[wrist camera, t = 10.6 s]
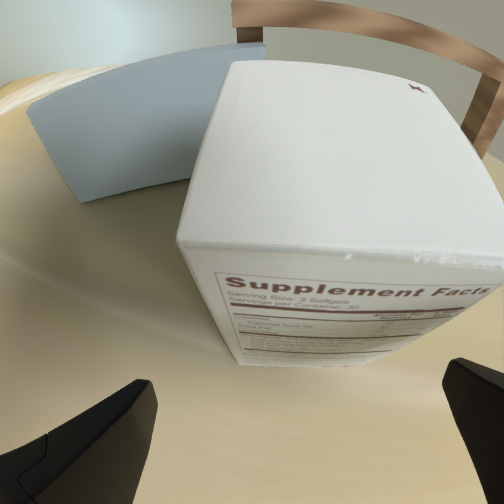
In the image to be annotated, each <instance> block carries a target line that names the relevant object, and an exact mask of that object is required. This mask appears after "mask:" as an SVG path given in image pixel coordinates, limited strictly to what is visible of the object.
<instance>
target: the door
mask: <svg viewBox="0 0 504 504" xmlns="http://www.w3.org/2000/svg"><path fill="white" fill-rule="evenodd" d="M247 60H266V47H265V45H264V44H263V43H262V42H251V43H238V44H229V45H220V46H213V47H206V48H199V49H193V50H188V51H182V52H177V53H172V54H168V55H163V56H159V57H155V58H151V59H147V60H143V61H139V62H136V63H132V64H129V65H125V66H122V67H119V68H116V69H113V70H110V71H107V72H104V73H101V74H98V75H95V76H93V77H90V78H87V79H85V80H82V81H80V82H77V83H75V84H72V85H70V86H68V87H65V88H63V89H61V90H58V91H56V92H54V93H52V94H50V95H48V96H46V97H44V98H42V99H40V100H38V101H36V102H34V103H32V104H31V106H30V107H29V108H28V109H27V111H26V113H27V115H28V117H29V119H30V121H31V123H32V125H33V127H34V129H35V130H36V132H37V134H38V136H39V138H40V140H41V141H42V143H43V145H44V147H45V148H46V150H47V152H48V154H49V155H50V157H51V159H52V160H53V162H54V164H55V165H56V167H57V169H58V170H59V172H60V174H61V175H62V177H63V178H64V180H65V181H66V183H67V185H68V186H69V188H70V189H71V191H72V192H73V194H74V195H75V197H76V198H77V200H78V201H79V203H80V204H81V203H84V202H88V201H92V200H95V199H99V198H103V197H107V196H110V195H114V194H118V193H122V192H127V191H131V190H135V189H139V188H144V187H148V186H153V185H157V184H162V183H167V182H171V181H176V180H181V179H187V178H191V177H192V174H193V170H194V167H195V163H196V160H197V156H198V153H199V150H200V146H201V143H202V140H203V137H204V134H205V131H206V128H207V125H208V122H209V119H210V116H211V113H212V110H213V108H214V105H215V102H216V99H217V96H218V94H219V91H220V88H221V86H222V83H223V81H224V78H225V76H226V73H227V71H228V68H229V66H230V64H231V63H232V62H234V61H247Z"/></svg>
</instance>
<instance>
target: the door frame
mask: <svg viewBox="0 0 504 504" xmlns="http://www.w3.org/2000/svg"><path fill="white" fill-rule="evenodd" d="M231 9H232V23H233V28H234V27H236V29H237V44H238V43H251V42H262V43H263V27H264V26H265V27H297V28H311V29H322V30H331V31H339V32H346V33H353V34H358V35H364V36H369V37H375V38H379V39H383V40H388V41H392V42H396V43H400V44H404V45H407V46H411V47H414V48H418V49H421V50H424V51H427V52H430V53H433V54H437V55H439V56H442V57H445V58H448V59H450V60H453V61H456V62H458V63H461V64H463V65H465V66H468V67H470V68H472V69H475V70H477V71H479V72H481V73H482V76H481V79H480V82H479V84H478V87H477V89H476V92H475V95H474V97H473V100H472V102H471V104H470V107H469V109H468V111H467V114H466V116H465V118H464V121H463V123H462V125H461V127H460V128H461V130H462V131H463V133H464V134H465V136H466V137H467V138H468V140H469V141H470V143H471V144H472V146H473V147H474V149H475V150H476V152H477V154H478V156H479V158H480V159H481V160H482V158H483V156H484V155H485V153H486V151H487V149H488V148H489V146H490V144H491V142H492V140H493V138H494V136H495V135H496V132H497V131H498V129H499V127H500V125H501V123H502V121H503V119H504V61H502V60H501V59H499V58H497V57H495V56H494V55H492V54H490V53H488V52H486V51H484V50H482V49H480V48H478V47H476V46H474V45H472V44H470V43H468V42H466V41H464V40H462V39H459V38H457V37H455V36H452V35H450V34H448V33H445V32H443V31H440V30H438V29H435V28H432V27H430V26H427V25H424V24H421V23H418V22H415V21H412V20H409V19H405V18H402V17H399V16H395V15H391V14H387V13H383V12H380V11H375V10H371V9H366V8H362V7H356V6H351V5H345V4H339V3H332V2H324V1H315V0H233V1H232V3H231Z"/></svg>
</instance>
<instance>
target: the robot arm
mask: <svg viewBox="0 0 504 504" xmlns="http://www.w3.org/2000/svg"><path fill="white" fill-rule="evenodd" d="M442 387H443V390H444V392H445V395H446V397H447V400H448V403H449V406H450V408H451V411H452V414H453V417H454V420H455V422H456V425H457V427H458V429H459V431H460V434H461V436H462V438H463V440H464V443H465V445H466V447H467V450H468V452H469V454H470V457H471V459H472V462H473V464H474V467H475V469H476V472H477V474H478V477H479V480H480V483H481V485H482V488H483V491H484V494H485V497H486V500H487V503H488V504H504V373H501V372H499V371H496V370H493V369H491V368H488V367H485V366H483V365H480V364H477V363H475V362H472V361H469V360H467V359H464V358H456V359H452V360H451V361H450V362H449V364H448V366H447V369H446V372H445V375H444V377H443V380H442ZM157 408H158V402H157V398H156V395H155V391H154V388H153V384H152V382H151V381H149V380H144V379H136V380H134V381H133V382H131V383H130V384H128V385H126V386H125V387H123V388H122V389H120V390H119V391H117V392H115V393H114V394H112V395H111V396H109V397H107V398H106V399H104V400H102V401H101V402H99V403H97V404H96V405H94V406H93V407H91V408H89V409H88V410H86V411H84V412H83V413H81V414H79V415H78V416H76V417H74V418H72V419H71V420H69V421H67V422H66V423H64V424H62V425H60V426H59V427H57V428H55V429H53V430H52V431H50V432H48V434H44V435H43V436H41V437H39V438H37V439H35V440H33V441H31V442H30V443H28V444H26V445H24V446H21V447H19V448H17V449H15V450H12V451H10V452H7V453H5V454H2V455H0V504H132V503H133V500H134V497H135V494H136V490H137V487H138V484H139V481H140V478H141V474H142V471H143V468H144V465H145V462H146V459H147V456H148V452H149V449H150V444H151V439H152V433H153V428H154V423H155V418H156V413H157Z"/></svg>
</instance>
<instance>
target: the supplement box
mask: <svg viewBox="0 0 504 504" xmlns="http://www.w3.org/2000/svg"><path fill="white" fill-rule="evenodd" d="M175 243H176V244H177V246H178V247H179V249H180V251H181V253H182V255H183V257H184V259H185V261H186V263H187V266H188V268H189V270H190V272H191V274H192V276H193V279H194V281H195V284H196V285H197V287H198V289H199V291H200V293H201V295H202V297H203V299H204V301H205V302H206V305H207V307H208V309H209V311H210V313H211V315H212V317H213V319H214V321H215V323H216V325H217V327H218V329H219V331H220V332H221V334H222V336H223V338H224V340H225V342H226V344H227V345H228V347H229V349H230V351H231V353H232V354H233V356H234V358H235V360H236V361H237V363H238V364H239V365H252V366H275V367H348V366H362V365H365V364H368V363H370V362H372V361H374V360H376V359H379V358H381V357H384V356H386V355H388V354H390V353H392V352H394V351H396V350H398V349H400V348H402V347H404V346H406V345H407V344H409V343H411V342H413V341H415V340H417V339H419V338H420V337H422V336H424V335H426V334H427V333H429V332H431V331H433V330H434V329H436V328H438V327H439V326H441V325H443V324H444V323H446V322H448V321H449V320H451V319H452V318H454V317H455V316H457V315H459V314H460V313H462V312H463V311H465V310H466V309H468V308H469V307H471V306H472V305H474V304H475V303H477V302H478V301H480V300H481V299H483V298H484V297H486V296H487V295H489V294H490V293H491V292H493V291H494V290H496V289H497V288H499V287H500V286H502V285H503V284H504V202H503V200H502V198H501V196H500V194H499V192H498V190H497V188H496V186H495V184H494V182H493V180H492V178H491V177H490V175H489V173H488V171H487V170H486V168H485V166H484V164H483V163H482V161H481V159H480V158H479V156H478V154H477V152H476V150H475V149H474V147H473V146H472V144H471V143H470V141H469V140H468V138H467V137H466V136H465V134H464V133H463V131H462V130H461V128H460V127H459V126H458V124H457V123H456V122H455V120H454V119H453V118H452V116H451V115H450V113H449V112H448V111H447V109H446V108H445V107H444V105H443V104H442V103H441V102H440V100H439V99H438V98H437V97H436V96H435V94H434V93H433V92H432V90H431V89H430V88H428V87H427V86H425V85H422V84H419V83H416V82H413V81H410V80H407V79H404V78H400V77H396V76H392V75H388V74H383V73H378V72H373V71H368V70H362V69H357V68H350V67H344V66H335V65H328V64H319V63H308V62H293V61H276V60H247V61H234V62H232V63H231V64H230V66H229V68H228V71H227V73H226V76H225V78H224V81H223V83H222V86H221V88H220V91H219V94H218V96H217V99H216V102H215V105H214V108H213V110H212V113H211V116H210V119H209V122H208V125H207V128H206V131H205V134H204V137H203V140H202V143H201V146H200V150H199V153H198V156H197V160H196V163H195V167H194V170H193V174H192V177H191V181H190V184H189V188H188V192H187V195H186V199H185V202H184V206H183V210H182V214H181V218H180V222H179V225H178V229H177V232H176V242H175Z"/></svg>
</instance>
